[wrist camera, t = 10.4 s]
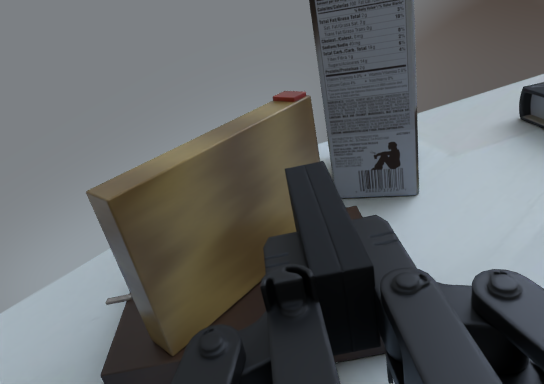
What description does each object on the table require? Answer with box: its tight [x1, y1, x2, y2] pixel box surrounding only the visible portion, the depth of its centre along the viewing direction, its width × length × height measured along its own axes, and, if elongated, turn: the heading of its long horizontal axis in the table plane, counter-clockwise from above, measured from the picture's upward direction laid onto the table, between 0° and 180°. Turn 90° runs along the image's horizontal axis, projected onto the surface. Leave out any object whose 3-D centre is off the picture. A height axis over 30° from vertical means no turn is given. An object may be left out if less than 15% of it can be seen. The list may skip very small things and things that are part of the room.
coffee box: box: [309, 0, 419, 198], centre depth 31 cm, size 9×6×16 cm
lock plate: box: [101, 206, 386, 384], centre depth 23 cm, size 16×10×2 cm, turn 94°
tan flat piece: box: [86, 91, 320, 356], centre depth 21 cm, size 12×2×8 cm, turn 138°
